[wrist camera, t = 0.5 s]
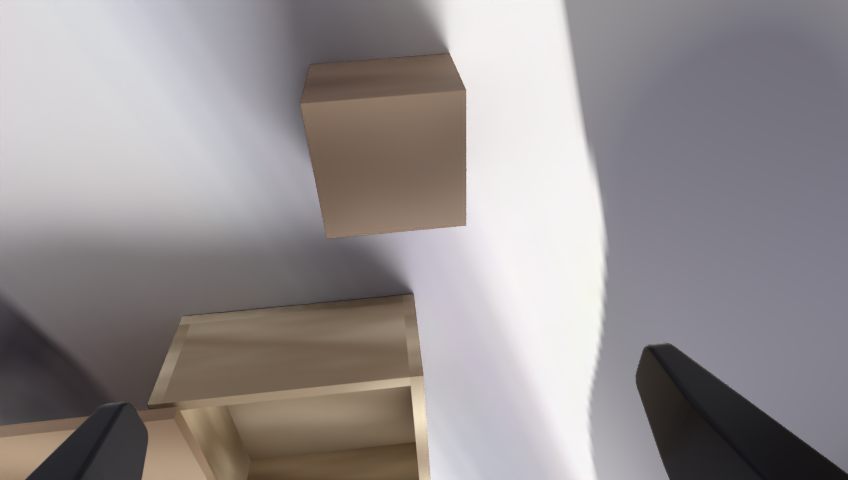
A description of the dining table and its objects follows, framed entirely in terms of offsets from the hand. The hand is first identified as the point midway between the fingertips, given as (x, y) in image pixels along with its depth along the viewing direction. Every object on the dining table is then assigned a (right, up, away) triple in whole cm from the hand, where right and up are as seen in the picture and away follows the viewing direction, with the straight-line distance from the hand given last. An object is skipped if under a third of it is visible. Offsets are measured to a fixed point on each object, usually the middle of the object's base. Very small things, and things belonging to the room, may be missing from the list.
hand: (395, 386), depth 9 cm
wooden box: (-5, -5, +17) cm, 18 cm away
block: (-1, +7, +9) cm, 11 cm away
